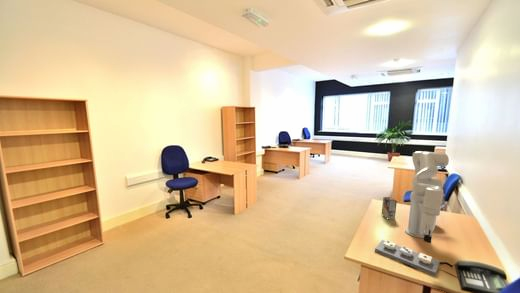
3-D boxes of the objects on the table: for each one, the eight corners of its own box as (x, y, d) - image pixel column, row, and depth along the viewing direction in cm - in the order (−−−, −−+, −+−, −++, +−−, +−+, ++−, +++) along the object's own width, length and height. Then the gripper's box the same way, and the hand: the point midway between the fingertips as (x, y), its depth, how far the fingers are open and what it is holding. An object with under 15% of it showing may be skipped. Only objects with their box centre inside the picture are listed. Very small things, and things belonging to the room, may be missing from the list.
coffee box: (395, 219, 182) (397, 200, 180) (387, 219, 182) (389, 201, 179) (388, 214, 191) (389, 196, 189) (381, 214, 191) (382, 197, 188)
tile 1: (419, 258, 130) (420, 252, 129) (431, 262, 126) (432, 256, 125) (417, 262, 126) (418, 256, 125) (429, 267, 122) (430, 261, 121)
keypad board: (382, 242, 148) (382, 239, 148) (439, 264, 127) (439, 261, 127) (374, 251, 138) (375, 248, 138) (435, 276, 117) (435, 272, 117)
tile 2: (385, 245, 142) (386, 239, 142) (395, 249, 138) (396, 243, 138) (382, 248, 138) (383, 243, 138) (392, 252, 135) (393, 247, 134)
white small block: (401, 251, 136) (402, 245, 136) (412, 255, 132) (413, 249, 132) (399, 255, 132) (399, 249, 132) (410, 259, 128) (411, 253, 128)
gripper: (425, 204, 130) (421, 234, 132) (420, 212, 119) (416, 243, 121) (441, 208, 124) (437, 239, 127) (437, 216, 114) (433, 249, 116)
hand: (427, 241), depth 124 cm, fingers closed
